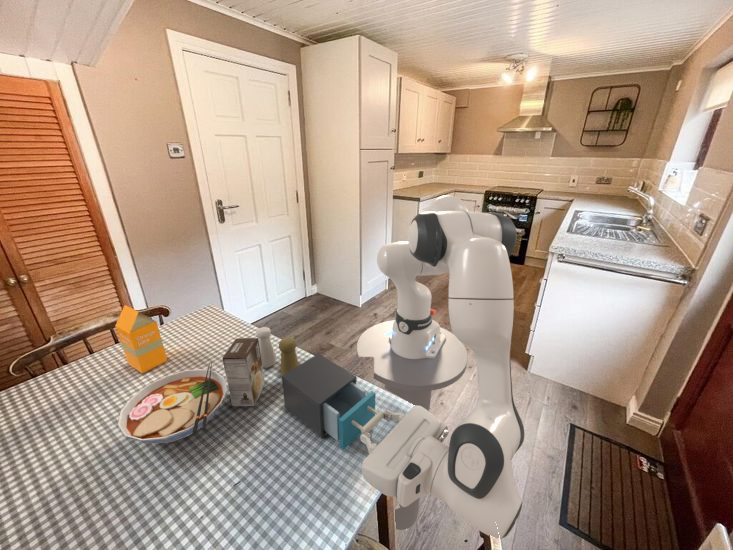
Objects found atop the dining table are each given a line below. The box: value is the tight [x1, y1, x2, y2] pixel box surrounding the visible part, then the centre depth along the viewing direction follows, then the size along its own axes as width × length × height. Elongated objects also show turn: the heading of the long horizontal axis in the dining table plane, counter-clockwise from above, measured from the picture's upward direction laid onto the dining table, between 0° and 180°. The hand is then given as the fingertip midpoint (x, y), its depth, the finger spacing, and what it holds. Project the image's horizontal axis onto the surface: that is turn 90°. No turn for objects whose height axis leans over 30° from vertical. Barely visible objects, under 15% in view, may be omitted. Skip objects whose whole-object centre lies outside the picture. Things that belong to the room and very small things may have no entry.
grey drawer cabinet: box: [281, 353, 357, 439], centre depth 79 cm, size 15×13×11 cm
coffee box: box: [222, 337, 266, 407], centre depth 83 cm, size 9×6×16 cm
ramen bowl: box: [117, 361, 228, 445], centre depth 75 cm, size 25×23×8 cm
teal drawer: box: [322, 382, 384, 452], centre depth 74 cm, size 18×11×9 cm, turn 50°
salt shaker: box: [255, 326, 277, 369], centre depth 96 cm, size 6×6×13 cm
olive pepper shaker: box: [278, 337, 300, 376], centre depth 94 cm, size 6×6×11 cm
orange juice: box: [114, 304, 168, 374], centre depth 95 cm, size 8×9×20 cm
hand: (374, 424), depth 68 cm, fingers closed on teal drawer, 6 cm apart
